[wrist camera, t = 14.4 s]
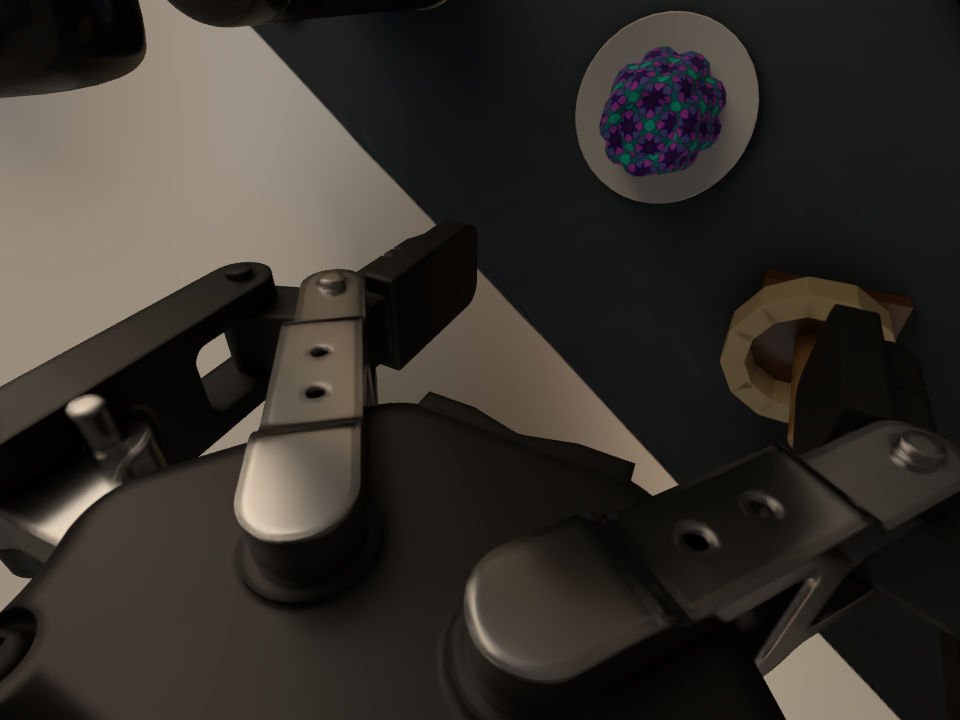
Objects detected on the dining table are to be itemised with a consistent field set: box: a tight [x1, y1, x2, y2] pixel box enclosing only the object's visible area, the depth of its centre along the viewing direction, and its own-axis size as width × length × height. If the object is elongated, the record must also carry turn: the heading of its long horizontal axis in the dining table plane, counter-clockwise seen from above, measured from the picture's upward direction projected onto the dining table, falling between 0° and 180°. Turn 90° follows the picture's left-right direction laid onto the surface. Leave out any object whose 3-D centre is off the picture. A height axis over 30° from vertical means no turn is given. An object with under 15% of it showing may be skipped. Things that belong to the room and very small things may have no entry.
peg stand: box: [750, 269, 914, 448], centre depth 36 cm, size 9×9×12 cm
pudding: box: [575, 11, 759, 203], centre depth 35 cm, size 12×12×5 cm
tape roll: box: [720, 277, 896, 423], centre depth 38 cm, size 10×10×3 cm
